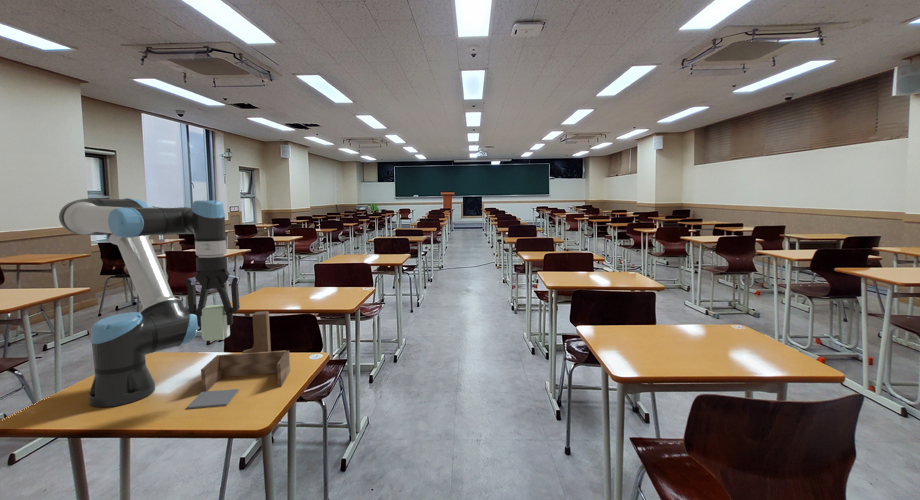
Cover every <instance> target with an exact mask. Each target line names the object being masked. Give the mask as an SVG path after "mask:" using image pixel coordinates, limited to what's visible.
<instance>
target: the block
mask: <svg viewBox="0 0 920 500" xmlns="http://www.w3.org/2000/svg"><path fill="white" fill-rule="evenodd" d="M225 313H226V312H225V309H224V306H223V304H208V305H205V308H203V309H202V321H203V336H204V339H203V341H204V342H207V341H209V342H210V341H220V340H221V341H222V340H223V341H224V340H225V339H227V337H225V335H224V319H223V315H224V314H225Z"/></svg>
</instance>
